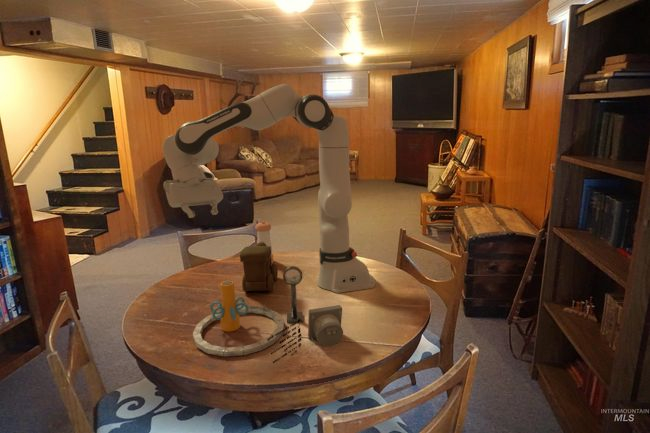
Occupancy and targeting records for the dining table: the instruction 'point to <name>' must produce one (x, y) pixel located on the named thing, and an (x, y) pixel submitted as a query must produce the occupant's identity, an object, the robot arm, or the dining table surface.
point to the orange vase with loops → (229, 308)
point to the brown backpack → (258, 268)
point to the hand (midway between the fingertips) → (204, 215)
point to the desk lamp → (293, 291)
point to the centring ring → (245, 349)
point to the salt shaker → (264, 234)
